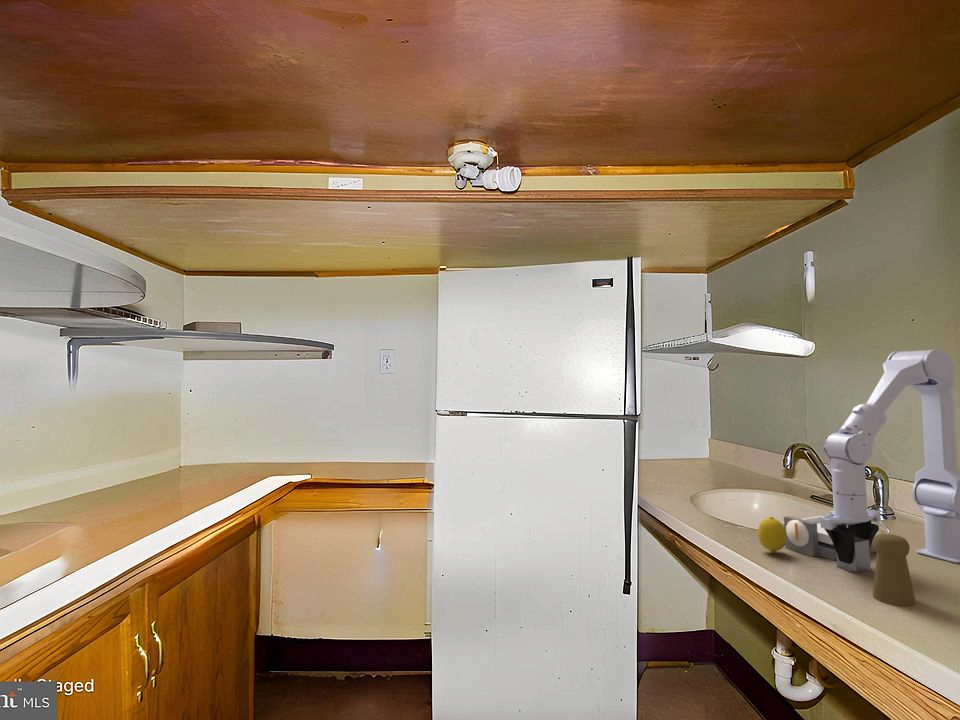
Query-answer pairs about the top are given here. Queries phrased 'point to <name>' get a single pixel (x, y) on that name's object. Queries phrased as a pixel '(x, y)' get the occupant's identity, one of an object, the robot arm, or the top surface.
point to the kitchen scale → (810, 537)
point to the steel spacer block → (858, 557)
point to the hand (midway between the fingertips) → (853, 560)
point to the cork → (892, 571)
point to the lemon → (772, 534)
